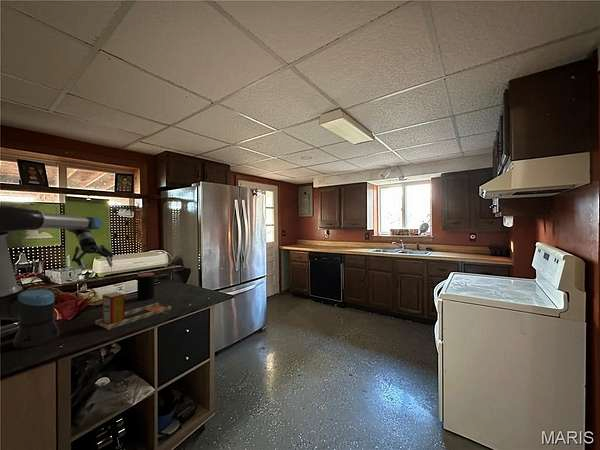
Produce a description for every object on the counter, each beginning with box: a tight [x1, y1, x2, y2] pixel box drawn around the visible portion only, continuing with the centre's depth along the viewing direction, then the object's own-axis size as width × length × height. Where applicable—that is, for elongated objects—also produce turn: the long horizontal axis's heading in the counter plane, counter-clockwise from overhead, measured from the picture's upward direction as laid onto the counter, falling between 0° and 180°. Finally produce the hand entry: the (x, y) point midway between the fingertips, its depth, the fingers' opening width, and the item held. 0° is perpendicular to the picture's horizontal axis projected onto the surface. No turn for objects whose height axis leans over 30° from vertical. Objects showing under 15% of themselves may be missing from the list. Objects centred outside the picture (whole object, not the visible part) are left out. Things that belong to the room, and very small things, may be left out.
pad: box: [97, 318, 126, 329], centre depth 137 cm, size 11×11×1 cm
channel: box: [94, 302, 172, 331], centre depth 147 cm, size 35×14×2 cm, turn 151°
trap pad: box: [145, 304, 166, 312], centre depth 158 cm, size 9×11×1 cm
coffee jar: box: [136, 272, 155, 301], centre depth 182 cm, size 11×11×18 cm
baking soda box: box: [102, 291, 126, 325], centre depth 137 cm, size 10×6×16 cm
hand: (98, 267), depth 146 cm, fingers open, 13 cm apart
